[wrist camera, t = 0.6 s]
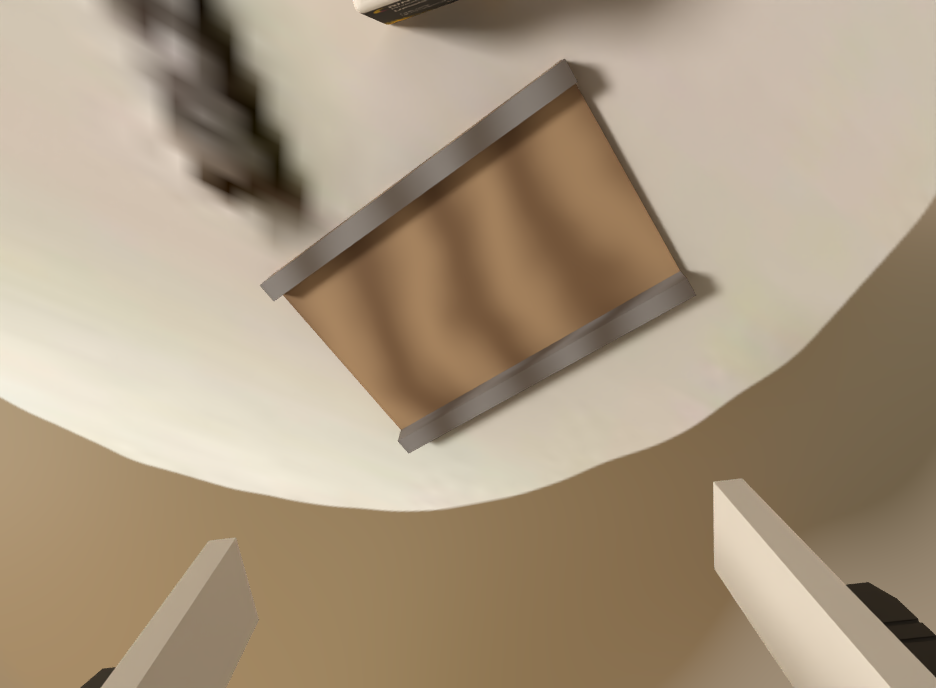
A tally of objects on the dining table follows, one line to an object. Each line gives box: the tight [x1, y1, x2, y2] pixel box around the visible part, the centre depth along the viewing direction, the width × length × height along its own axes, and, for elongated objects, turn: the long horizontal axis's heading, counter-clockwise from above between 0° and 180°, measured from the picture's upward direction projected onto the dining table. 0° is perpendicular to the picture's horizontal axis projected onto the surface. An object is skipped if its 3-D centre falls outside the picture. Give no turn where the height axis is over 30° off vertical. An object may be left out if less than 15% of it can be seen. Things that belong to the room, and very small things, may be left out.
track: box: [260, 59, 696, 453], centre depth 38 cm, size 24×17×2 cm
